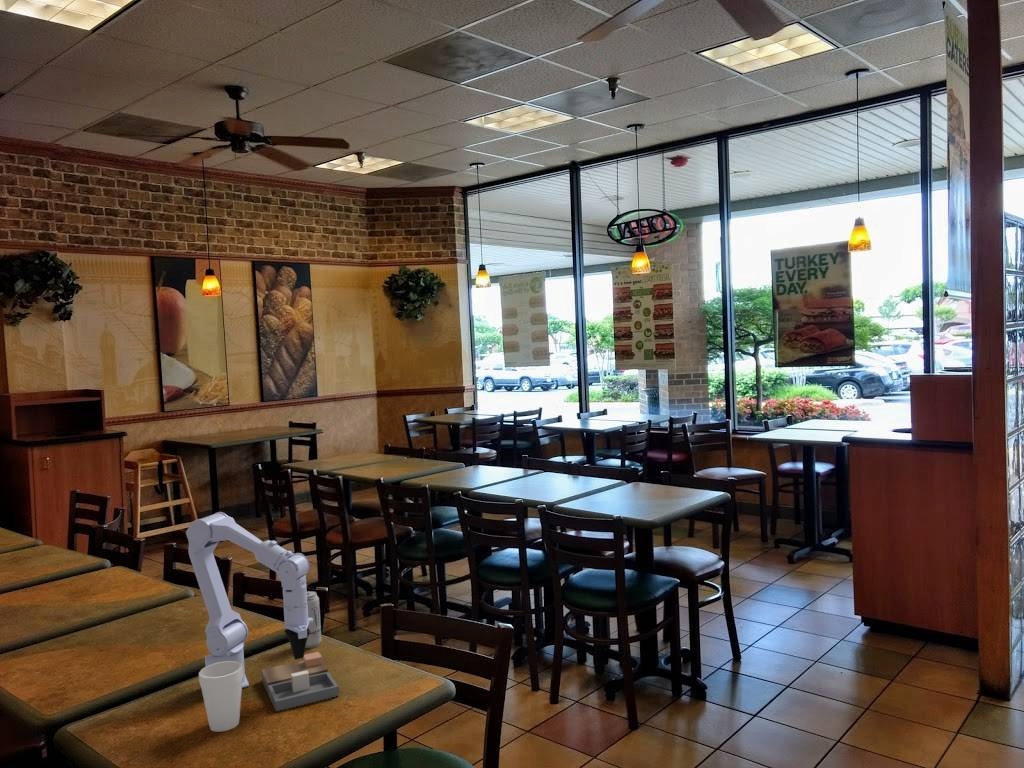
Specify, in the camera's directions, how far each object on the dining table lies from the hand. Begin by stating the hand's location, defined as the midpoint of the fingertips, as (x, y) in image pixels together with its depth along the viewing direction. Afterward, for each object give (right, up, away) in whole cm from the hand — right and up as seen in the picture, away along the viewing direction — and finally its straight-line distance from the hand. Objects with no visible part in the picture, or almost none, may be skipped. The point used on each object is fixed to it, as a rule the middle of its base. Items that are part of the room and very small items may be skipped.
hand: (298, 657), depth 192 cm
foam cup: (-13, -10, -16) cm, 23 cm away
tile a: (0, -6, +1) cm, 6 cm away
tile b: (+1, -5, +10) cm, 11 cm away
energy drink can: (-5, -7, +31) cm, 32 cm away
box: (+2, -8, -3) cm, 9 cm away
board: (-3, -8, +6) cm, 11 cm away
